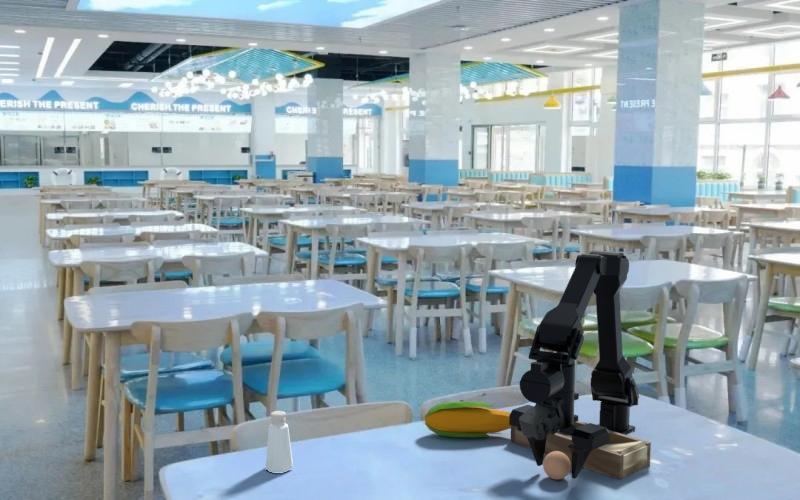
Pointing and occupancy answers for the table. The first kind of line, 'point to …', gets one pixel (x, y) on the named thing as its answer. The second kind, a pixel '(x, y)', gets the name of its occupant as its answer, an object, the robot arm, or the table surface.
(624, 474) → the brown wooden open box
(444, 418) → the corn
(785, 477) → the table surface
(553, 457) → the ball
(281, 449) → the pepper shaker
